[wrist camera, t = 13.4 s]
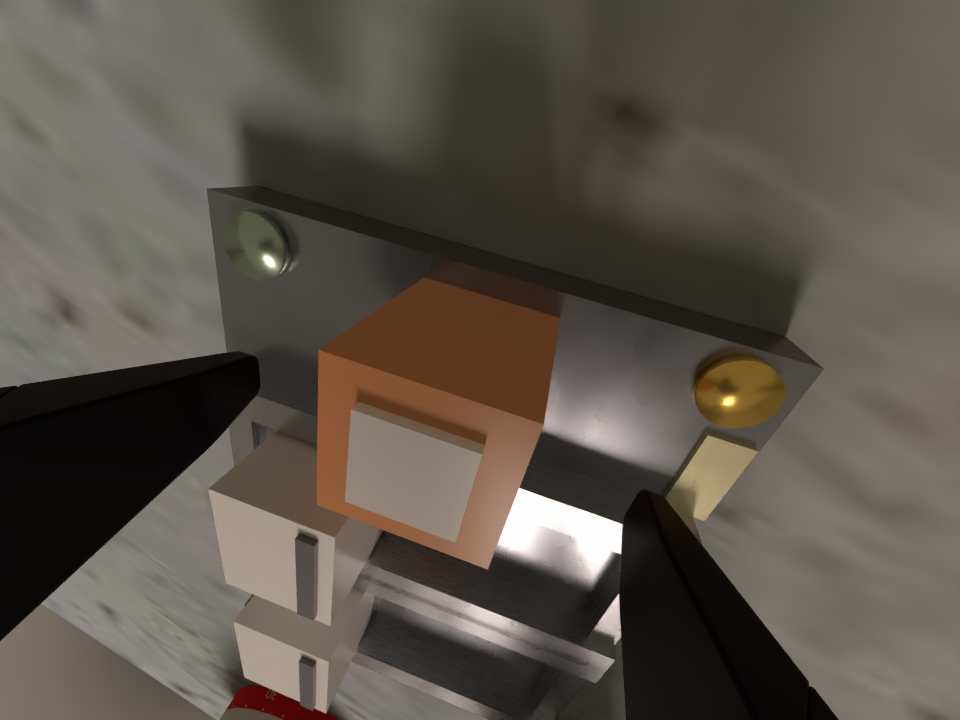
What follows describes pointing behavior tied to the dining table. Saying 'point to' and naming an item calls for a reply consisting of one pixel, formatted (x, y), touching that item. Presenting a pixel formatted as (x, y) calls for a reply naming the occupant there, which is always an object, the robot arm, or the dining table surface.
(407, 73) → the dining table surface
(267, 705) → the kitchen timer
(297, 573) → the block
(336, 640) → the block
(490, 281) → the panel
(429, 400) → the orange box
